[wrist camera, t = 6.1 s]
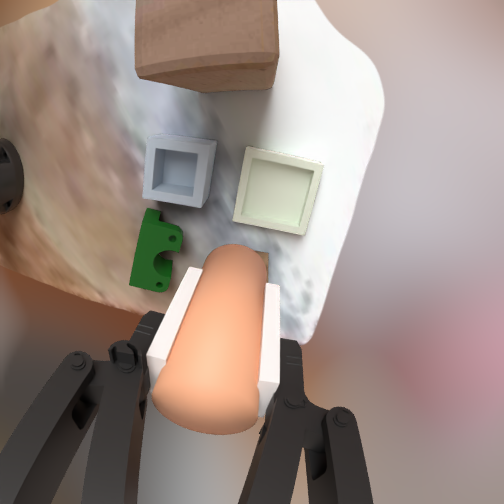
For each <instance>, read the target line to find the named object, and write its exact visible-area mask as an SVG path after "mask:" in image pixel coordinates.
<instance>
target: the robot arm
mask: <svg viewBox="0 0 504 504" xmlns="http://www.w3.org/2000/svg"><path fill="white" fill-rule="evenodd" d="M22 192H23V169H22V164H21V160H20V157H19V155H18V152H17V150H16V149H15V147H14V146H13V144H12V143H11V142H9V141H8V140H6V139H3V138H0V214H4V213H7V212H9V211H10V210H12V209H14V208H15V207H16V206H17V205H18V203H19V201H20V199H21V196H22ZM202 273H203V269H198V268H194V267H189V268H188V270H187V272H186V274H185V276H184V278H183V280H182V282H181V284H180V286H179V288H178V290H177V292H176V294H175V296H174V298H173V300H172V302H171V304H170V306H169V308H168V310H167V312H166V314H162V313H158V312H154V311H149V312H148V313H147V314H145V315H144V316H143V317H142V319H141V321H140V322H139V325H138V326H137V328H136V330H135V331H134V333H133V335H132V337H131V339H130V340H129V341H127V340H121V341H117V342H115V343H114V344H112V345H111V346H110V348H109V349H108V351H109V355H110V361H95V360H92V358H91V357H90V355H88V354H87V353H85V352H82V351H75V352H72V353H70V354H69V355H67V356H66V357H65V359H64V360H63V361H62V363H61V364H60V365H59V367H58V368H57V369H56V371H55V372H54V373H53V375H52V376H51V377H50V379H49V380H48V382H47V383H46V384H45V386H44V387H43V389H42V390H41V391H40V393H39V394H38V396H37V397H36V398H35V400H34V401H33V403H32V404H31V406H30V407H29V409H28V411H27V412H26V413H25V415H24V416H23V418H22V419H21V421H20V423H19V424H18V426H17V427H16V429H15V430H14V432H13V433H12V435H11V437H10V438H9V440H8V442H7V443H6V445H5V446H4V448H3V450H2V452H1V453H0V504H51V502H52V500H53V498H54V496H55V494H56V492H57V489H58V487H59V485H60V483H61V481H62V479H63V477H64V475H65V473H66V471H67V469H68V467H69V465H70V463H71V461H72V459H73V457H74V455H75V454H76V452H77V450H78V448H79V446H80V444H81V442H82V440H83V438H84V437H85V435H86V433H87V431H88V429H89V427H90V425H91V423H92V422H93V420H94V418H95V416H96V415H97V413H98V415H97V418H96V422H95V427H94V431H93V436H92V441H91V446H90V451H89V456H88V462H87V467H86V474H85V479H84V486H83V493H82V501H81V504H137V494H138V481H139V480H138V479H139V469H140V457H141V447H142V439H143V431H144V423H145V415H146V408H147V394H148V391H149V389H150V392H151V394H152V392H153V389H154V386H155V384H156V381H157V379H158V376H159V373H160V371H161V369H162V368H163V367H164V366H165V365H166V363H167V360H168V358H169V355H170V353H171V350H172V347H173V345H174V342H175V340H176V337H177V335H178V332H179V330H180V327H181V325H182V322H183V320H184V317H185V315H186V312H187V310H188V307H189V305H190V302H191V300H192V297H193V295H194V292H195V290H196V288H197V285H198V283H199V280H200V278H201V276H202ZM257 387H258V389H259V410H258V417H264V415H265V413H266V415H265V423H264V425H263V427H262V428H261V430H260V432H259V434H260V437H259V440H258V443H257V447H256V450H255V453H254V456H253V459H252V463H251V466H250V469H249V472H248V475H247V478H246V481H245V484H244V487H243V490H242V493H241V496H240V499H239V502H238V504H290V502H291V498H292V494H293V489H294V485H295V480H296V475H297V471H298V466H299V461H300V456H301V451H302V447H303V448H304V450H305V462H306V472H307V483H308V496H309V504H373V499H372V493H371V488H370V482H369V477H368V472H367V467H366V462H365V458H364V453H363V448H362V443H361V439H360V434H359V430H358V426H357V422H356V418H355V416H354V414H353V413H352V412H351V411H350V410H348V409H346V408H345V407H334V408H332V409H331V410H326V409H323V408H320V407H318V406H316V405H314V404H313V403H311V402H310V401H309V400H308V398H307V397H306V395H305V392H304V381H303V367H302V351H301V347H300V346H299V344H298V342H297V341H295V340H289V339H283V338H280V285H275V284H270V283H266V285H265V289H264V301H263V315H262V329H261V342H260V356H259V368H258V381H257Z"/></svg>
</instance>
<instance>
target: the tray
mask: <svg viewBox="0 0 504 504" xmlns="http://www.w3.org/2000/svg"><path fill="white" fill-rule="evenodd" d="M323 167H324V165H323V164H322V163H321V162H318V161H314V160H310V159H306V158H302V157H298V156H293V155H289V154H284V153H280V152H275V151H270V150H265V149H260V148H255V147H250V146H247V147H246V150H245V155H244V160H243V165H242V171H241V176H240V181H239V187H238V192H237V198H236V203H235V209H234V215H233V220H232V221H234V222H239V223H244V224H249V225H255V226H260V227H265V228H270V229H275V230H280V231H284V232H289V233H294V234H299V235H304V236H305V232H306V229H307V225H308V222H309V218H310V215H311V211H312V208H313V204H314V201H315V197H316V193H317V189H318V186H319V182H320V178H321V174H322V171H323Z"/></svg>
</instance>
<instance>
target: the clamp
mask: <svg viewBox="0 0 504 504" xmlns="http://www.w3.org/2000/svg"><path fill="white" fill-rule="evenodd" d="M160 212H161V211H158V210H154V209H150V208H147V210H146V212H145V215H144V218H143V221H142V225H141V229H140V234H139V238H138V243H137V247H136V252H135V257H134V262H133V267H132V272H131V277H130V283H129V285H130V286H134V287H138V288H143V289H147V290H151V291H155V292H164V291H166V290H167V289H168V286H169V283H170V279H171V272H172V261H173V260H168V259H165V258H163V257H161V256H160V255H159V253H160V252H162V251H165V250H172V251H176V252H178V253H179V250H180V247H181V244H182V241H183V231H182V229H181V228H180V227H179V226H176V225H173V224H169V223H165V222H161V221H158V220H159V216H160Z"/></svg>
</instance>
